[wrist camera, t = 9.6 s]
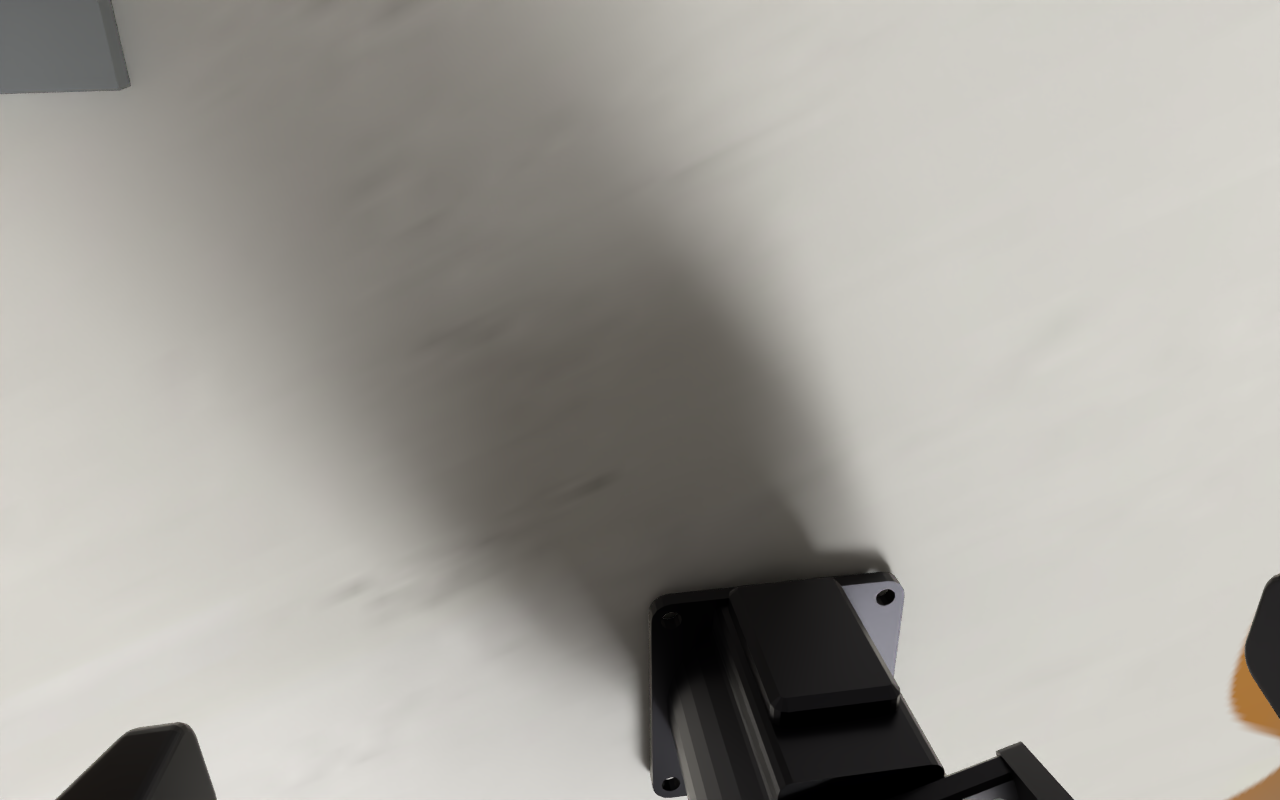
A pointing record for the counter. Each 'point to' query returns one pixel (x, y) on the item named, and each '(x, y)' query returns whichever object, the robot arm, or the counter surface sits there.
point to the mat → (60, 47)
